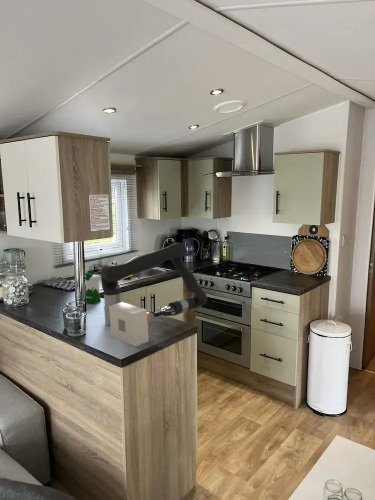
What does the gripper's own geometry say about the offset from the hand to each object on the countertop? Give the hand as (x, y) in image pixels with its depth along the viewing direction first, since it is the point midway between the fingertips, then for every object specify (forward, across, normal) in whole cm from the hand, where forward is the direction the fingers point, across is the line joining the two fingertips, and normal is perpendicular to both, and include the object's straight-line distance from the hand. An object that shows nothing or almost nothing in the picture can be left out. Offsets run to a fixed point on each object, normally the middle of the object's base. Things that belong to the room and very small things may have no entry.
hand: (154, 314), depth 199 cm
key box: (+16, 0, +8) cm, 18 cm away
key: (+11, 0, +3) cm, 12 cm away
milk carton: (-6, -71, +8) cm, 72 cm away
